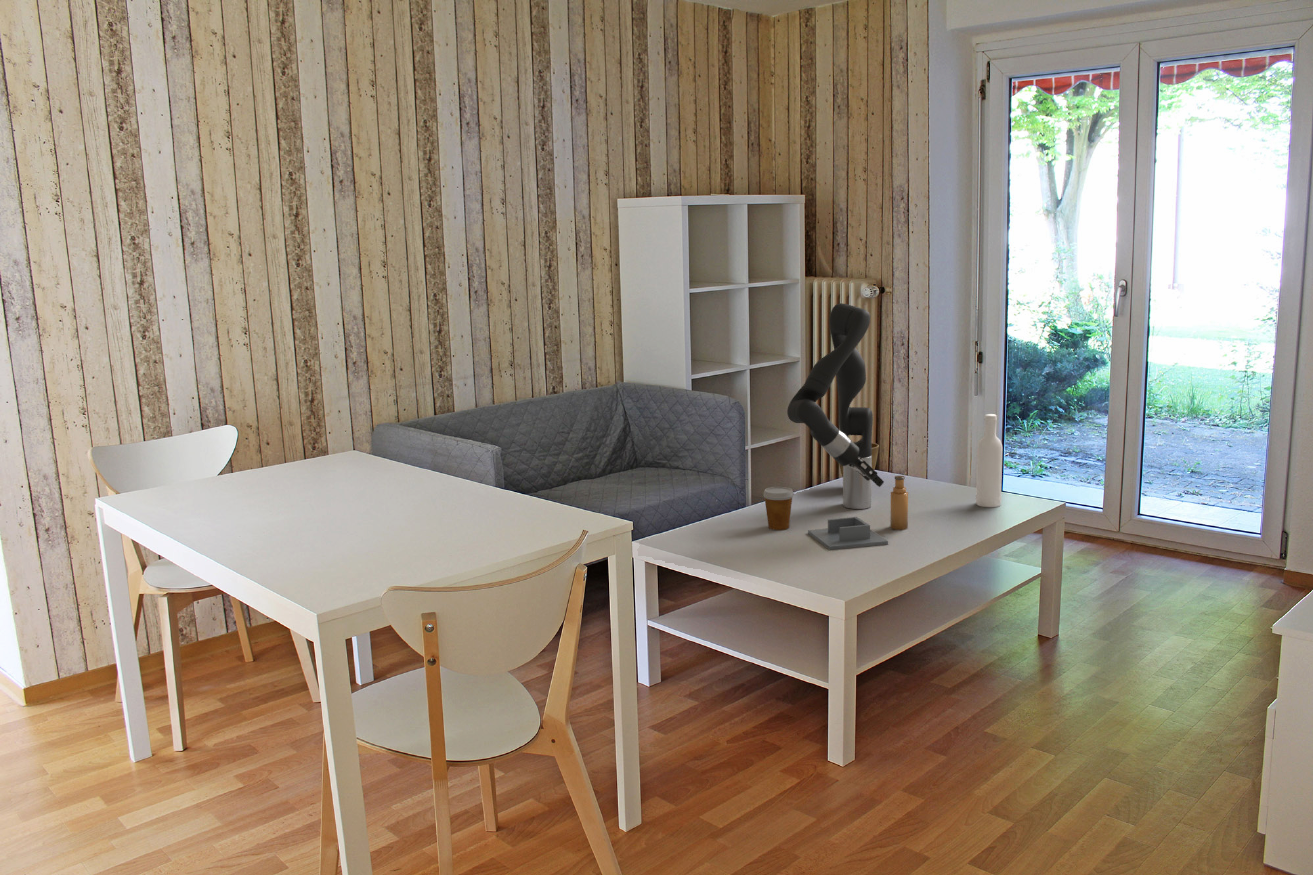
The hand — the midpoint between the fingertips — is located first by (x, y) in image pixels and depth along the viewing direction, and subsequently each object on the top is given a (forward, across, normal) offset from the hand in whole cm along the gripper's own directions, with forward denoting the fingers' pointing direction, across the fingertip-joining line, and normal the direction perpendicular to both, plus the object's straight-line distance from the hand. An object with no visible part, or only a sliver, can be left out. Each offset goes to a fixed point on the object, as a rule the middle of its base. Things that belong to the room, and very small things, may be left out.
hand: (875, 481), depth 310 cm
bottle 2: (+44, +16, -22) cm, 52 cm away
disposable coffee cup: (-8, +12, +30) cm, 33 cm away
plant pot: (+21, +50, 0) cm, 54 cm away
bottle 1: (+16, 0, +5) cm, 17 cm away
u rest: (+2, -6, +19) cm, 20 cm away
